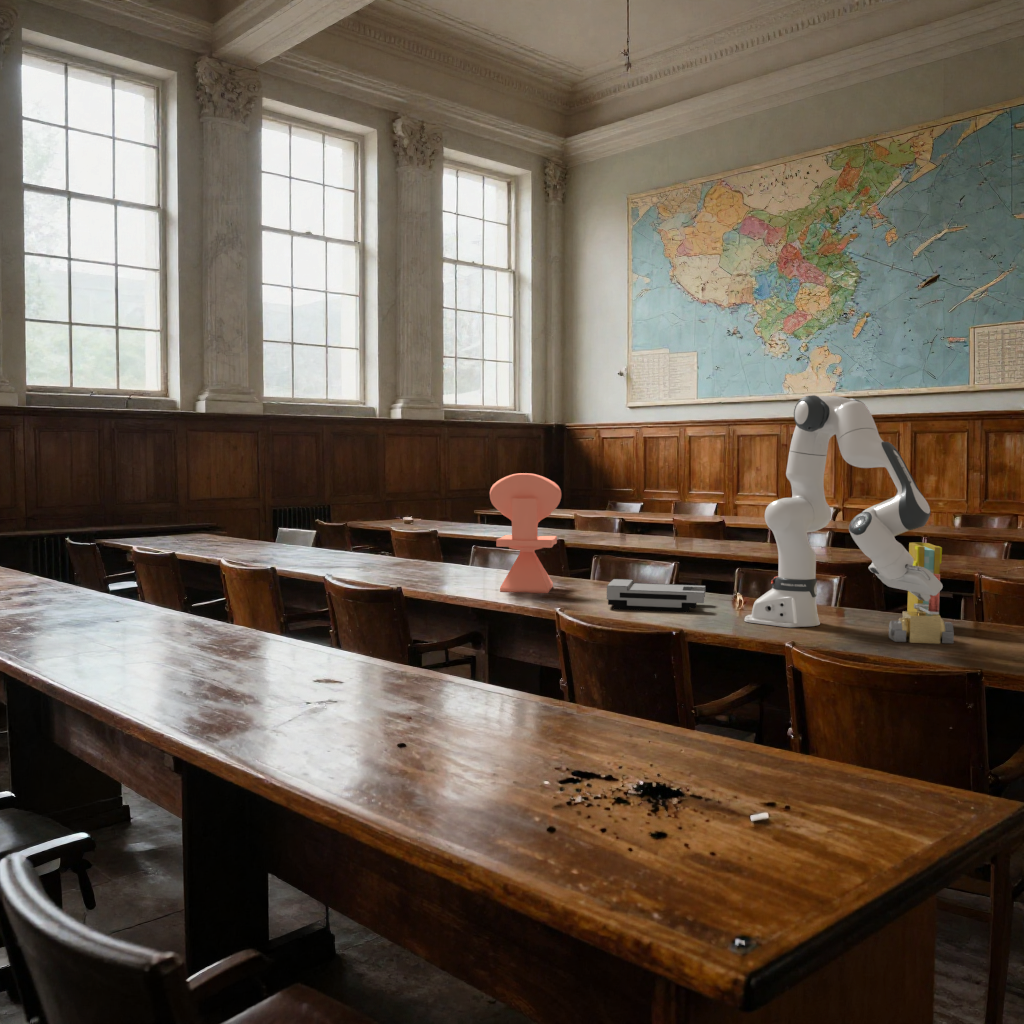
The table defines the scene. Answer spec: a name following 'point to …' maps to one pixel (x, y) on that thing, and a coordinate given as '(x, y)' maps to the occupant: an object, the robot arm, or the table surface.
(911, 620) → the valve body
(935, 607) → the lever
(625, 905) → the table surface
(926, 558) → the book
